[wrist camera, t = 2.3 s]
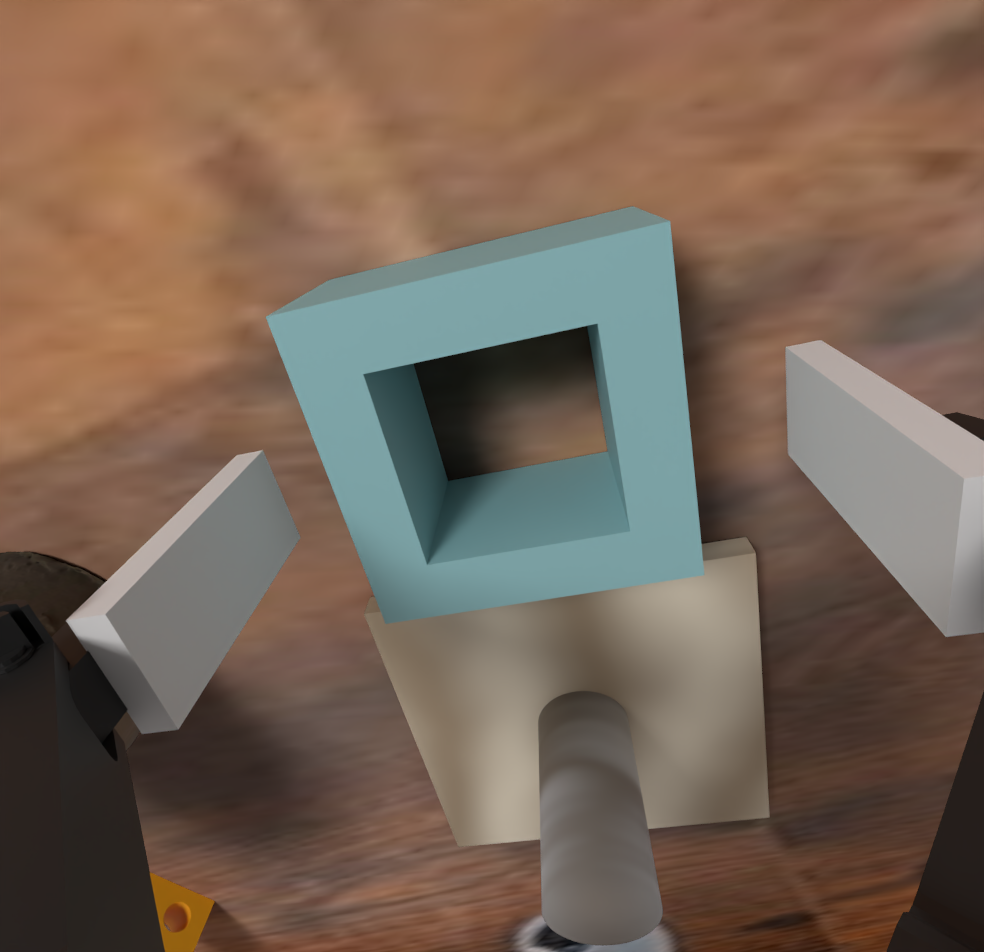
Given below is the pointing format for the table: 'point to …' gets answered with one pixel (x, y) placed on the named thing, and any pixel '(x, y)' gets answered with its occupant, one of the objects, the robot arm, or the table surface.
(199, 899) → the pipe clamp
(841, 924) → the table surface
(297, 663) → the table surface
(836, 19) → the table surface
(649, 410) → the collar
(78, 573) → the pillar candle
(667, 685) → the post block
